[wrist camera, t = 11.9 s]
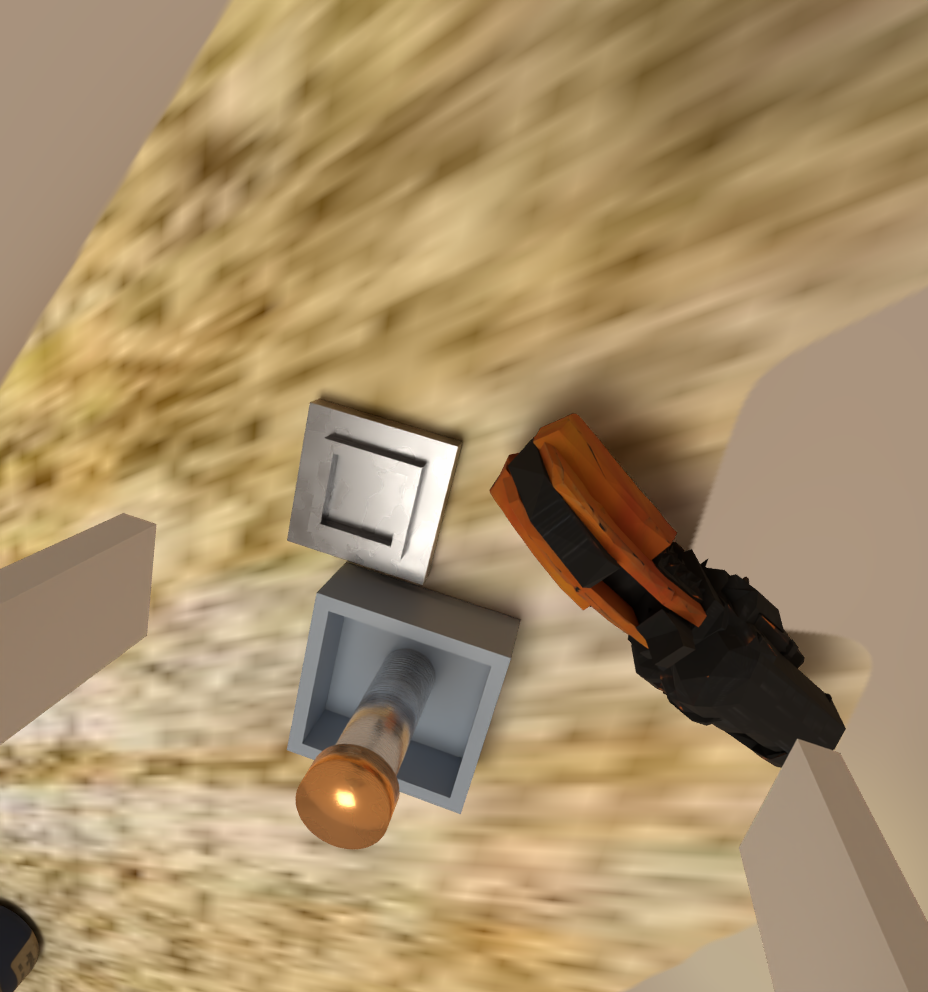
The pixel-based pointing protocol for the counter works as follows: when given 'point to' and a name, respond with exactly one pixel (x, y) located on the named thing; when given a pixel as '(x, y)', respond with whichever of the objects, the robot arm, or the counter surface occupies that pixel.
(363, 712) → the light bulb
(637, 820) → the counter surface
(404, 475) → the collar plate
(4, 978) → the canister
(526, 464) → the tool
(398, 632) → the bin
